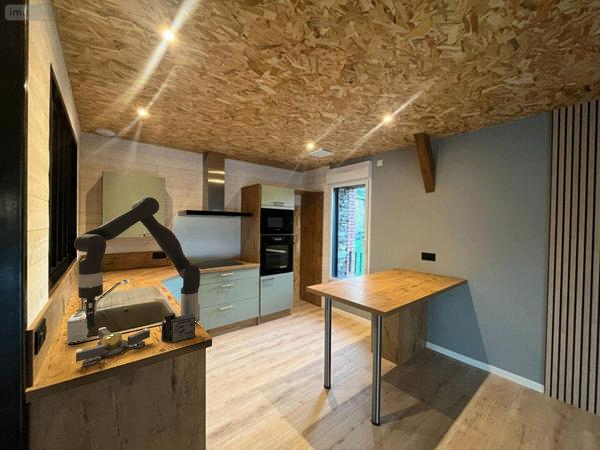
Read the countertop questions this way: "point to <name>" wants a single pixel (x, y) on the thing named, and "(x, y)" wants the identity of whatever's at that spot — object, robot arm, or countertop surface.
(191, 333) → the small box
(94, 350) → the knob
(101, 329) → the knob side
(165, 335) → the supplement bottle
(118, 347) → the tribrach
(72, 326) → the light bulb box
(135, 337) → the knob
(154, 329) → the countertop surface
